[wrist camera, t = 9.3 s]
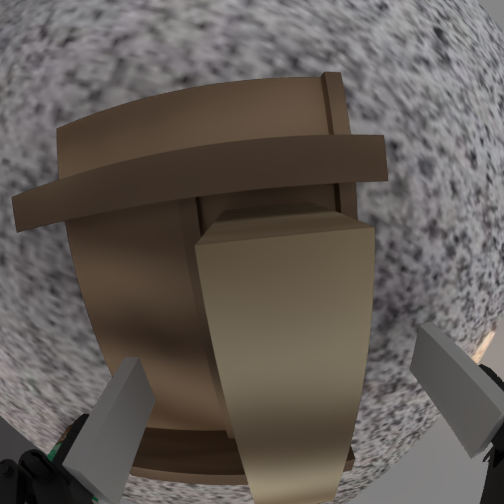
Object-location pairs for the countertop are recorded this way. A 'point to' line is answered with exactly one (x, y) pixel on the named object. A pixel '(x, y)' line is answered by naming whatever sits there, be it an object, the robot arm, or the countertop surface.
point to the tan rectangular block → (290, 340)
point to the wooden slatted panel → (189, 233)
